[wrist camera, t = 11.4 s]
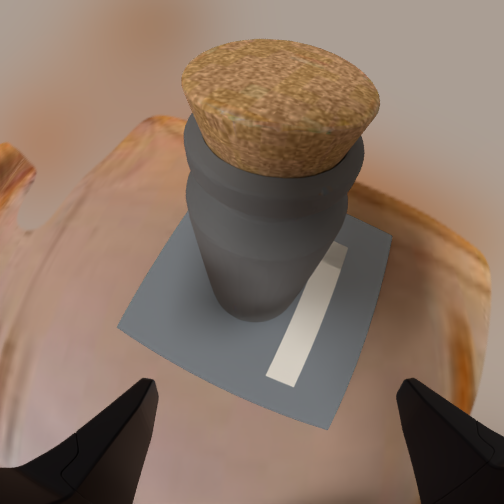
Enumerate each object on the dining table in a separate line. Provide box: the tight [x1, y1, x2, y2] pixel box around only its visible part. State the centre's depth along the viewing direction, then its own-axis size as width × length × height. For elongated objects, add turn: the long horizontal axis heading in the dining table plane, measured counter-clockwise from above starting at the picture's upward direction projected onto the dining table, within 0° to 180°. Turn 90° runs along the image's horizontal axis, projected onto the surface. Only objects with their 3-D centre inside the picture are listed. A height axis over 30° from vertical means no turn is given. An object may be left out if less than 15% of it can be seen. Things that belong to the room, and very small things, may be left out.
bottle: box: [182, 39, 380, 322], centre depth 12 cm, size 6×6×15 cm
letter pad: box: [117, 212, 392, 430], centre depth 19 cm, size 16×16×1 cm
